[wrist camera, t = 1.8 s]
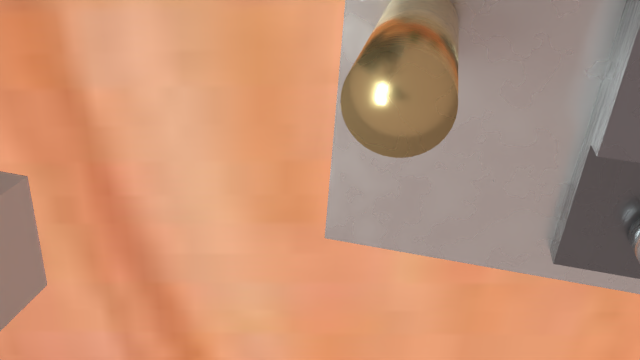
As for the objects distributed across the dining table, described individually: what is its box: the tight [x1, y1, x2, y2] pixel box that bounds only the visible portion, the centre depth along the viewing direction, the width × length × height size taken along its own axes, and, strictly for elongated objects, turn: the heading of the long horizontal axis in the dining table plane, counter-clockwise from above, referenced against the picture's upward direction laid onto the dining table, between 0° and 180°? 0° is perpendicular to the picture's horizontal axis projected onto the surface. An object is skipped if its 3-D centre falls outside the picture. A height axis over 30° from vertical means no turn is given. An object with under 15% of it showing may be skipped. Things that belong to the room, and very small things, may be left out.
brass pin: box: [340, 0, 459, 158], centre depth 25 cm, size 4×4×12 cm
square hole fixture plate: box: [325, 0, 640, 294], centre depth 27 cm, size 28×27×6 cm
